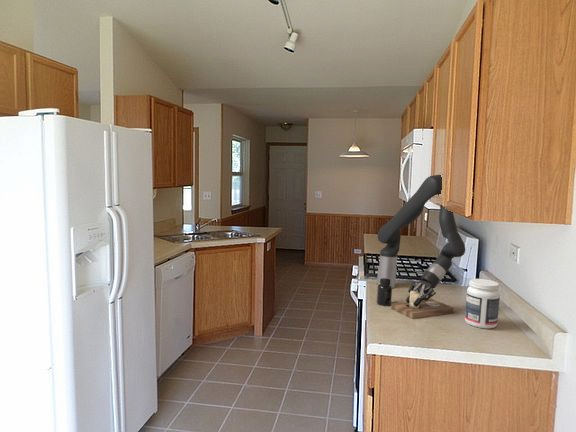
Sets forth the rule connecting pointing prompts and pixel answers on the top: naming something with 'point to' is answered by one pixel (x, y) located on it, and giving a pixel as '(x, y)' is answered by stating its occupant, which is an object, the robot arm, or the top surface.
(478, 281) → the supplement tub
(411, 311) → the walnut board
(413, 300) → the birch peg
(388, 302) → the supplement bottle
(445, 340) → the top surface
